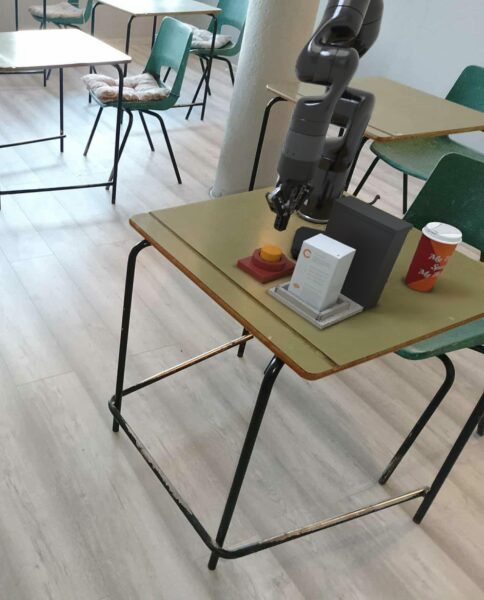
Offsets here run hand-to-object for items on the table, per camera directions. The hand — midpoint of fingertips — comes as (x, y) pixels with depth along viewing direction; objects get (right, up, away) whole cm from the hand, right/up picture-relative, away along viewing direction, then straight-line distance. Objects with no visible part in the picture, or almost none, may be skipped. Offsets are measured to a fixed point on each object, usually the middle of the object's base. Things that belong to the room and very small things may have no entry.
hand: (279, 229), depth 123 cm
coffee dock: (+8, -15, -3) cm, 17 cm away
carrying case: (+13, -4, +14) cm, 20 cm away
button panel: (-1, -8, +6) cm, 10 cm away
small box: (+5, -15, -5) cm, 17 cm away
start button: (-1, -6, +4) cm, 7 cm away
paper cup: (+33, -12, +5) cm, 35 cm away
